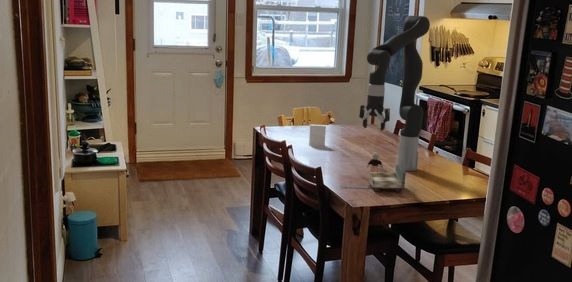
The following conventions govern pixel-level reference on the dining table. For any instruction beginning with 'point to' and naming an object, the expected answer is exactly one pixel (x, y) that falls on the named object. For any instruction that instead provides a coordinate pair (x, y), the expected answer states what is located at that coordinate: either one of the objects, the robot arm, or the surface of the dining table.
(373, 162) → the grandmother figurine
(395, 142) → the dining table surface
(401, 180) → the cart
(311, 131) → the light grey upright block
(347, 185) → the strip
